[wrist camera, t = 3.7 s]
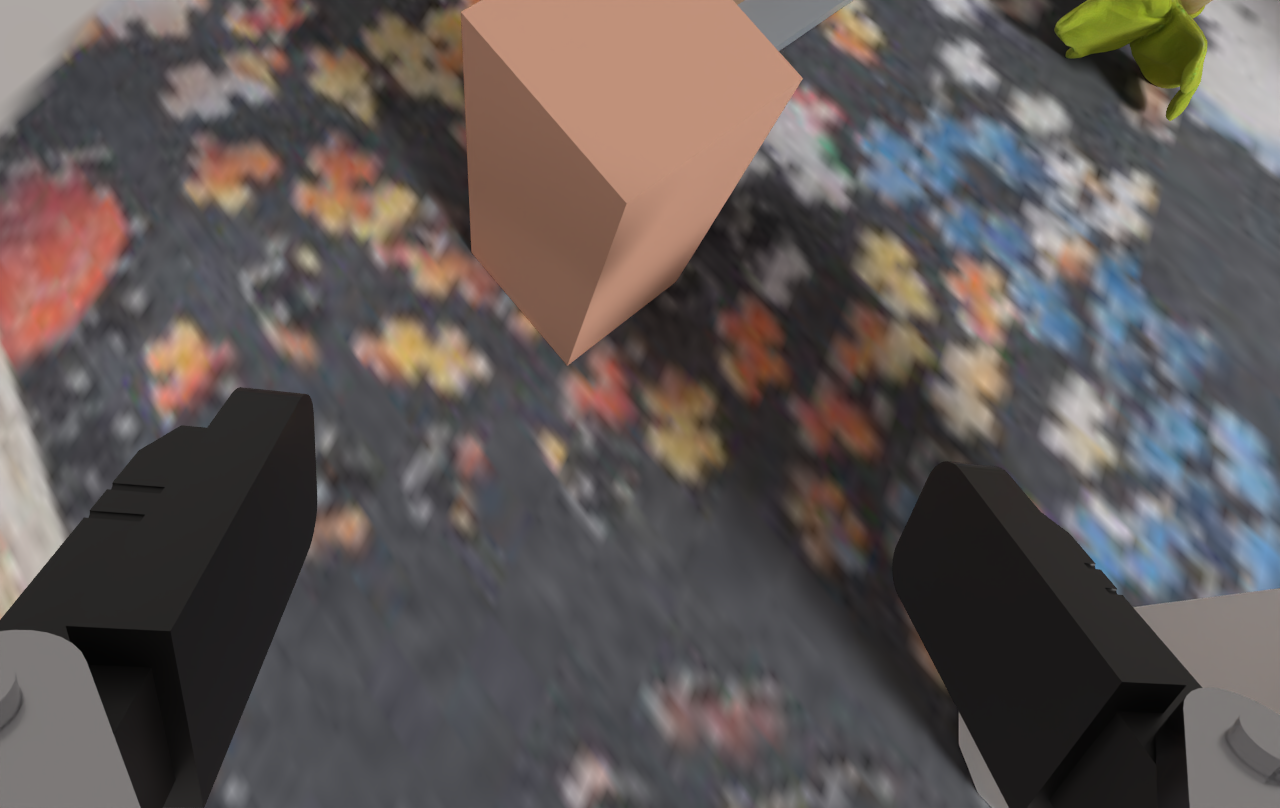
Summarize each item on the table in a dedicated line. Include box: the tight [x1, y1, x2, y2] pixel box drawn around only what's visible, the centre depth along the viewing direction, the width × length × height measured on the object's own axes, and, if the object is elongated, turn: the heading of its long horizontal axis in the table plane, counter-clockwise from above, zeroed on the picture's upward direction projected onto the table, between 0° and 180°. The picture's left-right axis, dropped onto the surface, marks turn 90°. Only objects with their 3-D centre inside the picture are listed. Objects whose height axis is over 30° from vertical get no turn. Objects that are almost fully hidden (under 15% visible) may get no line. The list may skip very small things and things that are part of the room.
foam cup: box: [959, 588, 1280, 808], centre depth 17 cm, size 10×9×13 cm
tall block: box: [461, 0, 803, 366], centre depth 19 cm, size 4×4×10 cm
